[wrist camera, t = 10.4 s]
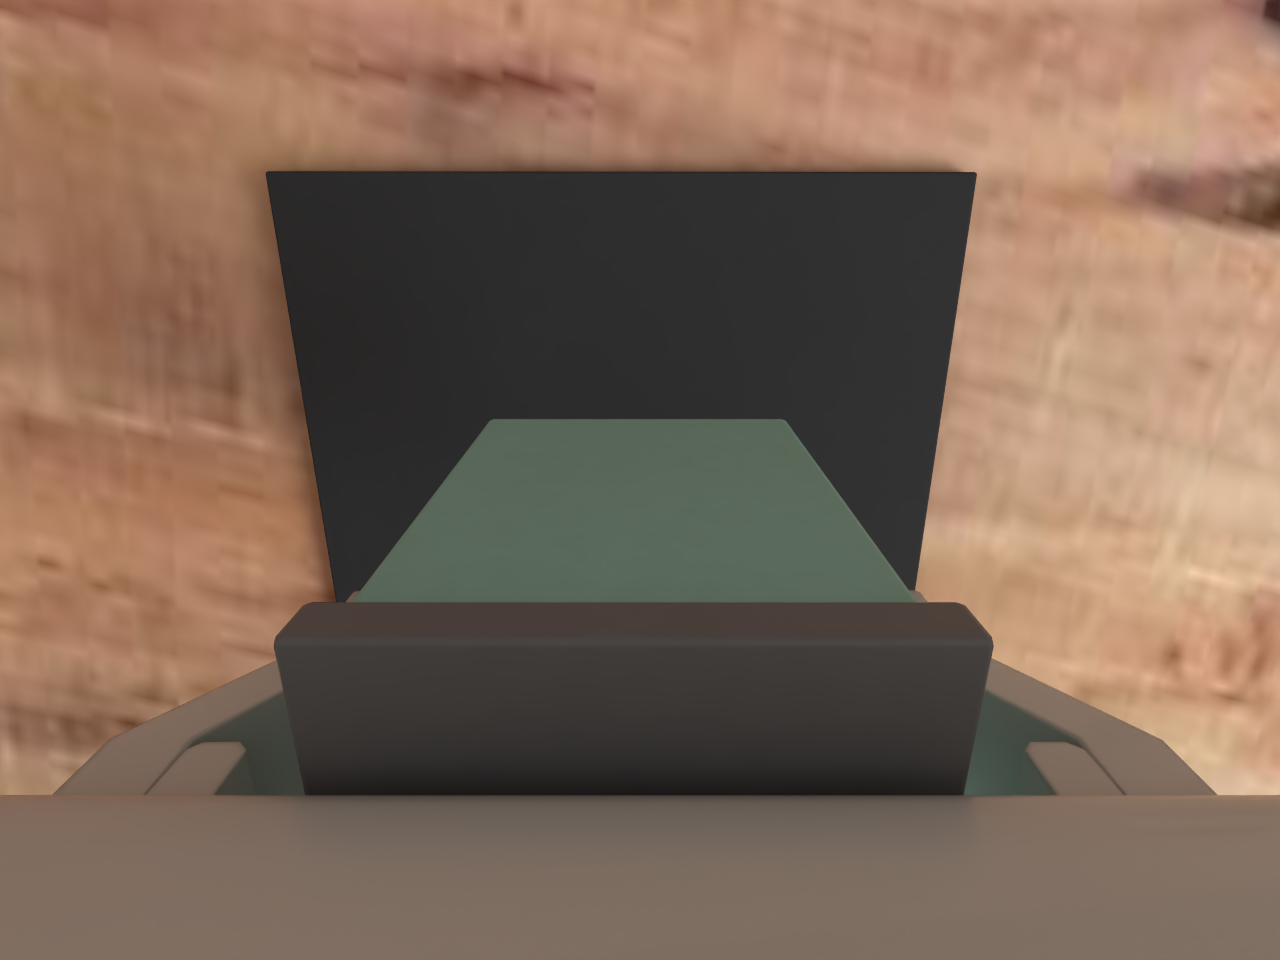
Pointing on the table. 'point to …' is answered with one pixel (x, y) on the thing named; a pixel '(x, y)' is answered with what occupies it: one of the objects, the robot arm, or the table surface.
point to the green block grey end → (634, 631)
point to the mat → (617, 323)
